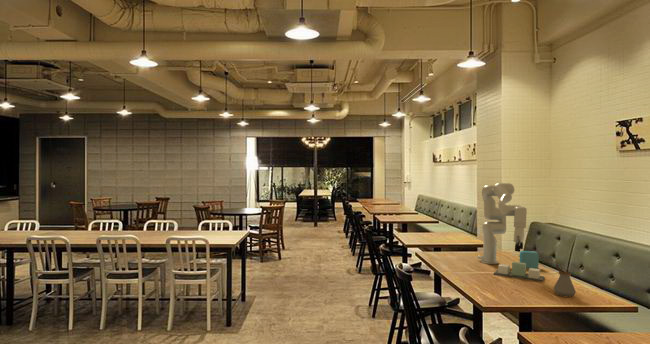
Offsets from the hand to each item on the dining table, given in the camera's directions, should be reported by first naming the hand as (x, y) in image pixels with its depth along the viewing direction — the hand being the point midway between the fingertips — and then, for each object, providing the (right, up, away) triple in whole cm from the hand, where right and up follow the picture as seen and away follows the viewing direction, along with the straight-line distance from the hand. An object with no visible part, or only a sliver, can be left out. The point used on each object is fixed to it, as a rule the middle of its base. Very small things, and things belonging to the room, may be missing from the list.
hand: (518, 250), depth 294 cm
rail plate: (0, -18, 0) cm, 18 cm away
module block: (0, -17, 0) cm, 17 cm away
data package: (+19, -18, +26) cm, 37 cm away
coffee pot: (+9, -19, -37) cm, 42 cm away
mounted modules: (0, -17, 0) cm, 17 cm away
